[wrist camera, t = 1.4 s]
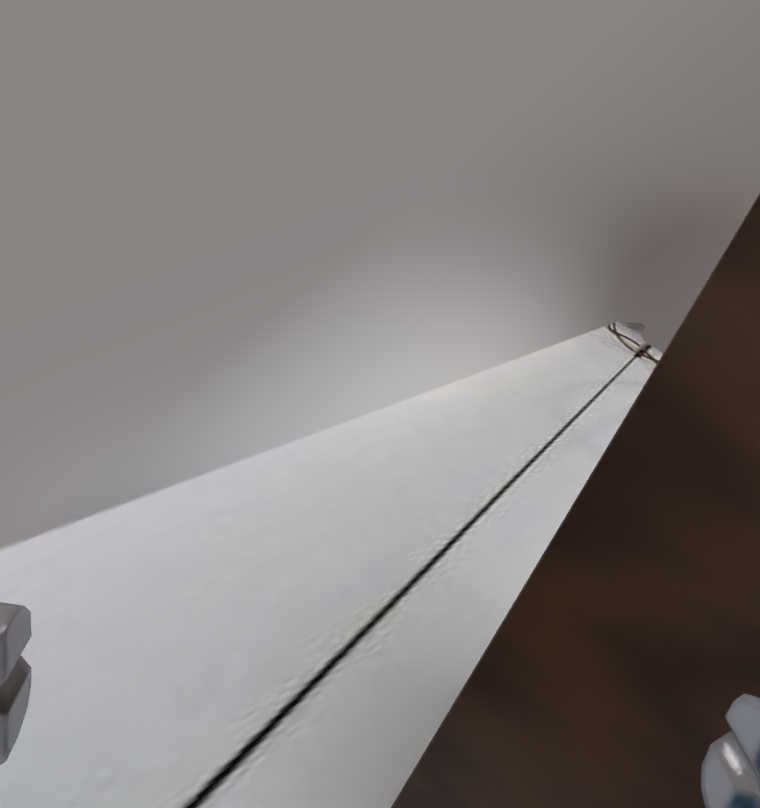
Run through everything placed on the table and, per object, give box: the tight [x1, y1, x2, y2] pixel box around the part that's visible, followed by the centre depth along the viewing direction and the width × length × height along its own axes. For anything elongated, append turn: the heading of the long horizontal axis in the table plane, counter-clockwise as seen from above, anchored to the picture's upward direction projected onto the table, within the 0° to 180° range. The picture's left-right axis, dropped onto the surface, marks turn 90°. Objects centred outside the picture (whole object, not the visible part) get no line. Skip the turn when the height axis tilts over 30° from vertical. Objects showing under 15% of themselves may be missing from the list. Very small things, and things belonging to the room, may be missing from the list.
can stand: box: [391, 194, 760, 808], centre depth 20 cm, size 10×12×27 cm
